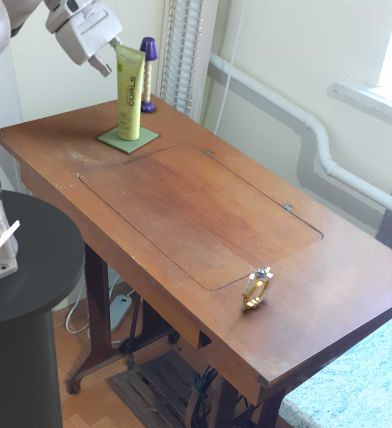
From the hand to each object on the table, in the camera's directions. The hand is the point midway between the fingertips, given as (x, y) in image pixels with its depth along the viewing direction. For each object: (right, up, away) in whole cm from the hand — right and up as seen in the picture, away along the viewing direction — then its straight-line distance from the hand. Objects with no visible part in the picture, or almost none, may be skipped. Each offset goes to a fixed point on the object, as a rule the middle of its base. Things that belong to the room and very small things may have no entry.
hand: (116, 67), depth 117 cm
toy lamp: (+4, +1, +22) cm, 22 cm away
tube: (+1, -11, +11) cm, 15 cm away
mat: (+1, -11, +11) cm, 16 cm away
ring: (+27, -54, -23) cm, 64 cm away
